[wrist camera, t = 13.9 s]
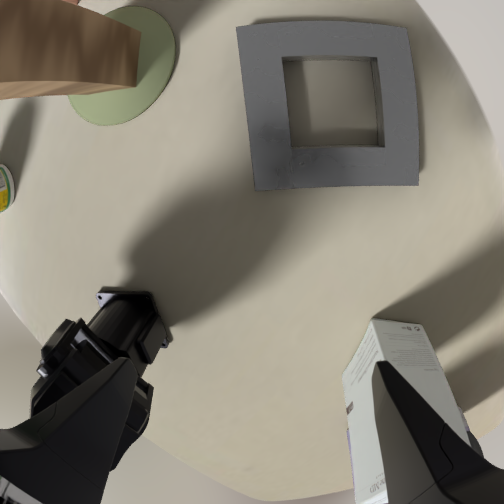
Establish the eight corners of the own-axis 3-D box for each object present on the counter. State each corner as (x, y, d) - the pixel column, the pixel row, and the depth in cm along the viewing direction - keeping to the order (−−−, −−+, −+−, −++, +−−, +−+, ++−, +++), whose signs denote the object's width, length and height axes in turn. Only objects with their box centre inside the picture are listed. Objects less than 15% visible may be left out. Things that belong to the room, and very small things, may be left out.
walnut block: (136, 87, 17) (-18, 84, 5) (88, 94, 17) (-55, 110, 5) (141, 32, 15) (4, -15, 3) (92, 43, 15) (-43, 27, 4)
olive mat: (74, 139, 19) (72, 139, 19) (67, 36, 15) (64, 35, 15) (182, 108, 18) (180, 108, 17) (171, -9, 13) (169, -11, 13)
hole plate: (257, 185, 20) (255, 191, 18) (239, 33, 15) (235, 26, 14) (410, 180, 18) (418, 185, 17) (398, 33, 13) (406, 28, 12)
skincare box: (370, 315, 23) (411, 475, 10) (424, 322, 23) (481, 458, 10) (339, 377, 27) (350, 511, 14) (389, 380, 27) (413, 501, 13)
